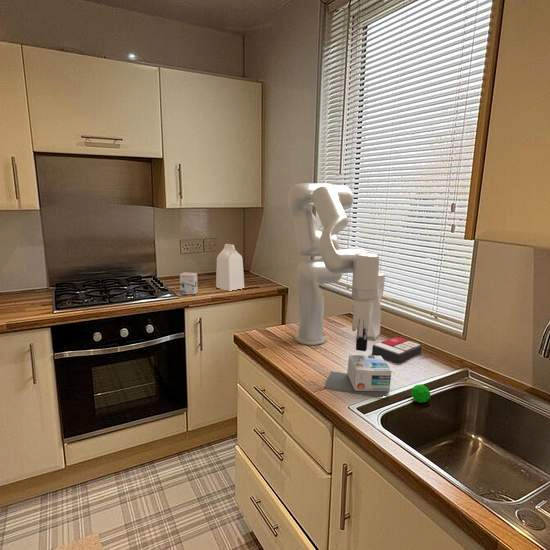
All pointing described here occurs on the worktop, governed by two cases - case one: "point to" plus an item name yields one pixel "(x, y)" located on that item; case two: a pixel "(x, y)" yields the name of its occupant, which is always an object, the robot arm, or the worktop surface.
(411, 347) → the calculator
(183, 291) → the ink box
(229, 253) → the milk
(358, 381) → the light bulb box
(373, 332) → the skyscraper
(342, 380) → the mat
